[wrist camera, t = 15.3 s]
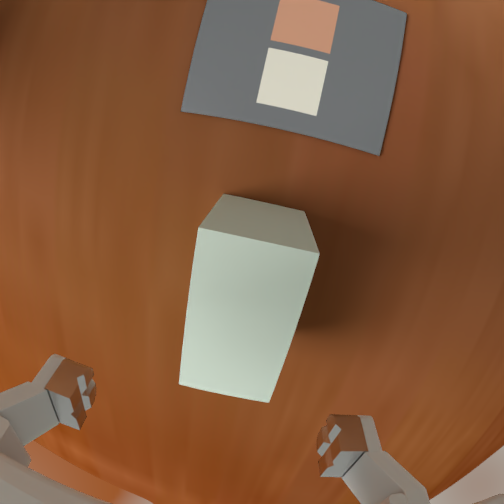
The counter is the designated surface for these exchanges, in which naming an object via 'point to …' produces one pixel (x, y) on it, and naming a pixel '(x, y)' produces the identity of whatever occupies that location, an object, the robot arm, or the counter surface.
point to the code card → (299, 66)
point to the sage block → (245, 296)
